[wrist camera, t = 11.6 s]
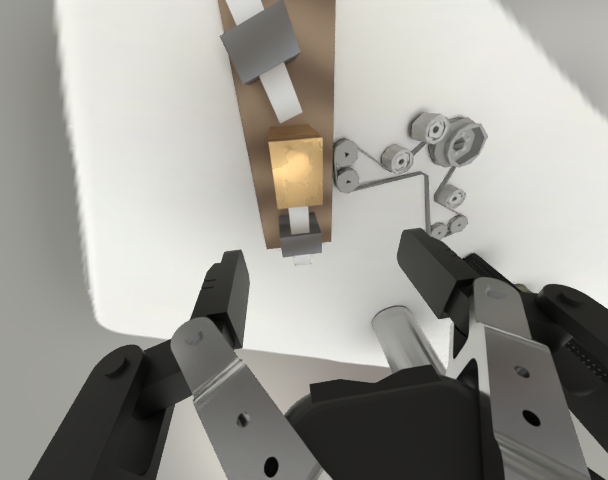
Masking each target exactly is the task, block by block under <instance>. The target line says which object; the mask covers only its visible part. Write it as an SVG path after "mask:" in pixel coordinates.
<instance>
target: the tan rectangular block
mask: <svg viewBox="0 0 608 480" xmlns="http://www.w3.org/2000/svg"><path fill="white" fill-rule="evenodd" d="M269 149H270V157H271V164H272V171H273V178H274V185H275V192H276V200H277V207H278V209H285V208H295V207H304V206H313V205H323V137H321V136H320V135H319V134H318V133H317V132H316V131H315V130H314V129H313V128H312V127H311V126H310V125H309V124H307V125H294V126H282V127H269Z"/></svg>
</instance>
